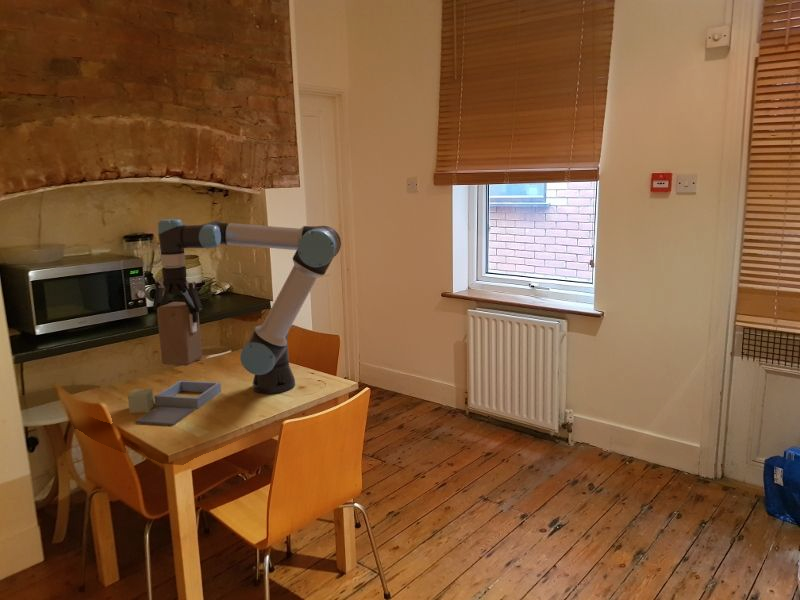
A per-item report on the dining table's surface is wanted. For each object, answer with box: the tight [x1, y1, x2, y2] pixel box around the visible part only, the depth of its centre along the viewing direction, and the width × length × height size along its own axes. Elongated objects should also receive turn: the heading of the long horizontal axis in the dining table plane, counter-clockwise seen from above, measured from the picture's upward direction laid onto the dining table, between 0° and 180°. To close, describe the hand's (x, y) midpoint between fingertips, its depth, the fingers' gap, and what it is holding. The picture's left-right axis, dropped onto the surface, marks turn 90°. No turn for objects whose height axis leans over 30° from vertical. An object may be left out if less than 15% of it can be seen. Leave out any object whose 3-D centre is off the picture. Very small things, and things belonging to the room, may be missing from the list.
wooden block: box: [156, 301, 203, 367], centre depth 209 cm, size 10×10×20 cm
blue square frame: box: [153, 380, 222, 409], centre depth 215 cm, size 16×16×4 cm
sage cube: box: [127, 388, 155, 414], centre depth 206 cm, size 6×6×6 cm
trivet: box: [135, 406, 196, 427], centre depth 200 cm, size 13×13×1 cm
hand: (179, 331), depth 209 cm, fingers closed on wooden block, 10 cm apart
